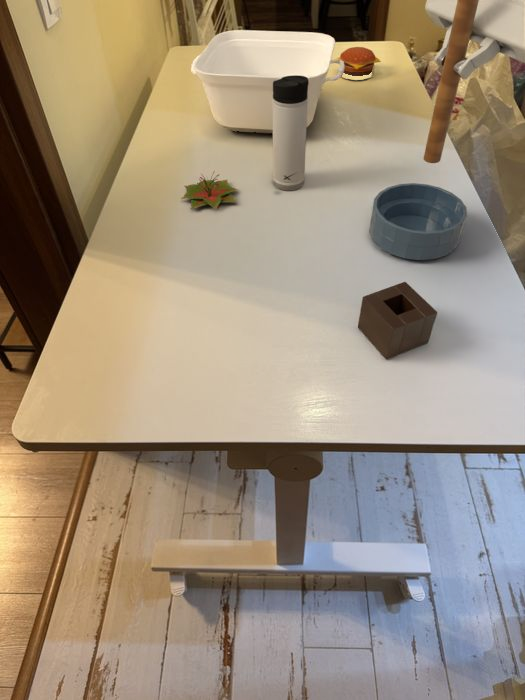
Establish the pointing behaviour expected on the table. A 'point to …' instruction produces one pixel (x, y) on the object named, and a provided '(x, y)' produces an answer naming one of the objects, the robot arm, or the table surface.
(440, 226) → the bowl
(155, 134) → the table surface
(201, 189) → the lily flower
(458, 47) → the stirring stick
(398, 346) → the holder
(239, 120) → the white plastic tub
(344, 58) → the hamburger
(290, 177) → the travel mug
